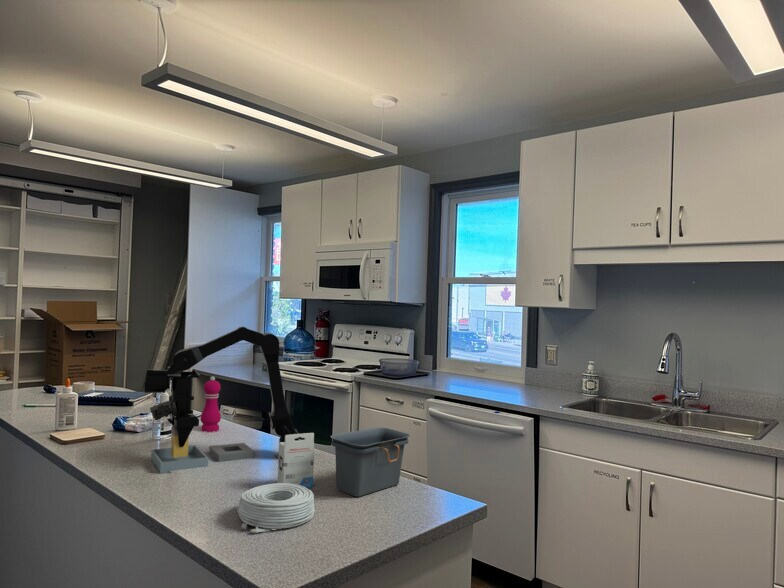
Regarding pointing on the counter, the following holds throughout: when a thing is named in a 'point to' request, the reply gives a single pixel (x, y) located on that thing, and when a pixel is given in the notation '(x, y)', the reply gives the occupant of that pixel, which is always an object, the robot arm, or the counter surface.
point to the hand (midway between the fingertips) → (179, 445)
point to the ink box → (296, 460)
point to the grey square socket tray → (231, 452)
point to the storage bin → (368, 459)
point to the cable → (276, 506)
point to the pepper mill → (211, 406)
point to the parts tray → (178, 459)
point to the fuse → (175, 448)
